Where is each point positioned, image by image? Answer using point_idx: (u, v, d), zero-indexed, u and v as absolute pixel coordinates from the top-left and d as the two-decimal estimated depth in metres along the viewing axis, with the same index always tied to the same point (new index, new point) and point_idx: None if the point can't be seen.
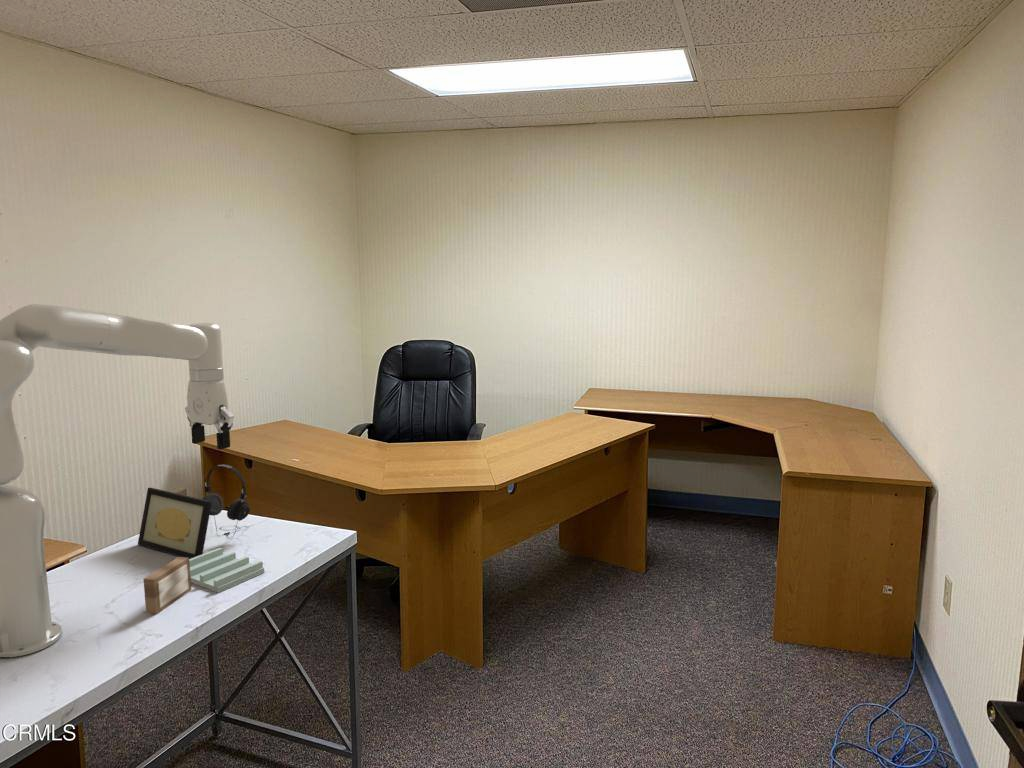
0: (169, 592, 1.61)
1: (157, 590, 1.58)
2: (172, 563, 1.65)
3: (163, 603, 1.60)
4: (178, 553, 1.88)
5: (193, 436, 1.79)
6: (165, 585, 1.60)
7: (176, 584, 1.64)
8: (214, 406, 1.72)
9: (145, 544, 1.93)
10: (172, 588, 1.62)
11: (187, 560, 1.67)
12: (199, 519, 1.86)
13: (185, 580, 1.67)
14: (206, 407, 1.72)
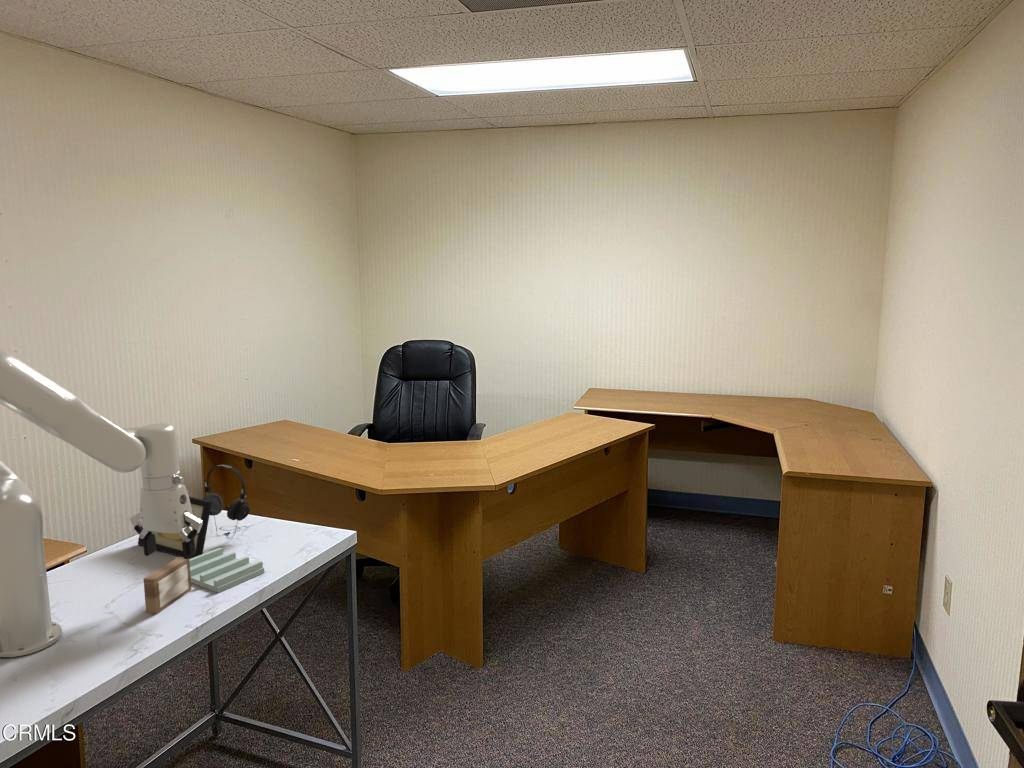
0: (169, 592, 1.61)
1: (157, 590, 1.58)
2: (172, 563, 1.65)
3: (163, 603, 1.60)
4: (178, 553, 1.88)
5: None
6: (165, 585, 1.60)
7: (176, 584, 1.64)
8: None
9: None
10: (172, 588, 1.62)
11: (187, 560, 1.67)
12: None
13: (185, 580, 1.67)
14: None
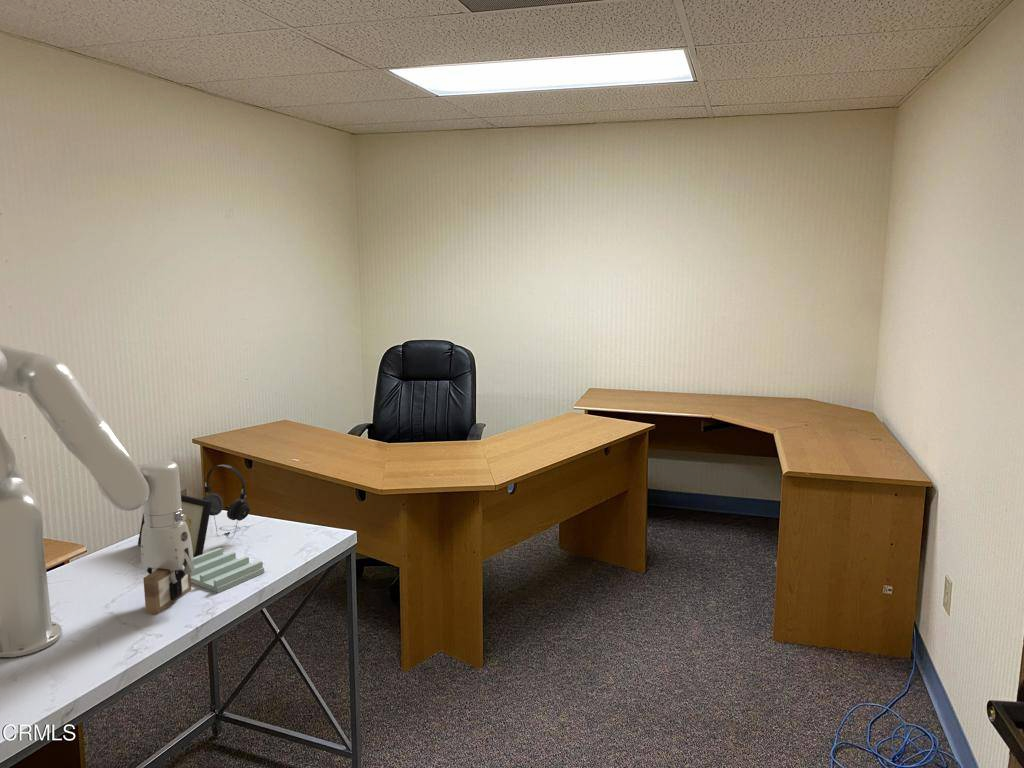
0: (169, 591, 1.61)
1: (157, 589, 1.58)
2: None
3: (163, 602, 1.60)
4: None
5: None
6: (165, 584, 1.60)
7: None
8: None
9: None
10: None
11: None
12: (199, 518, 1.86)
13: (185, 579, 1.67)
14: None
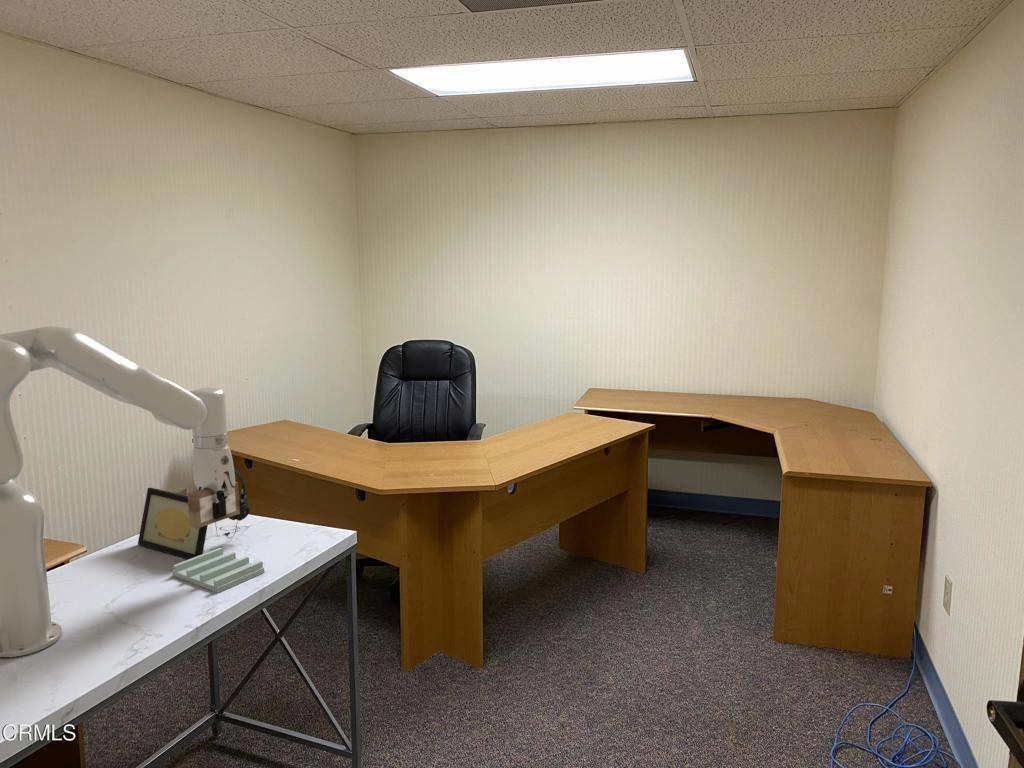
0: (212, 510, 1.73)
1: (198, 506, 1.70)
2: None
3: (204, 519, 1.71)
4: (178, 553, 1.88)
5: None
6: (207, 503, 1.72)
7: None
8: None
9: (145, 544, 1.93)
10: None
11: (235, 484, 1.78)
12: None
13: (232, 502, 1.78)
14: None
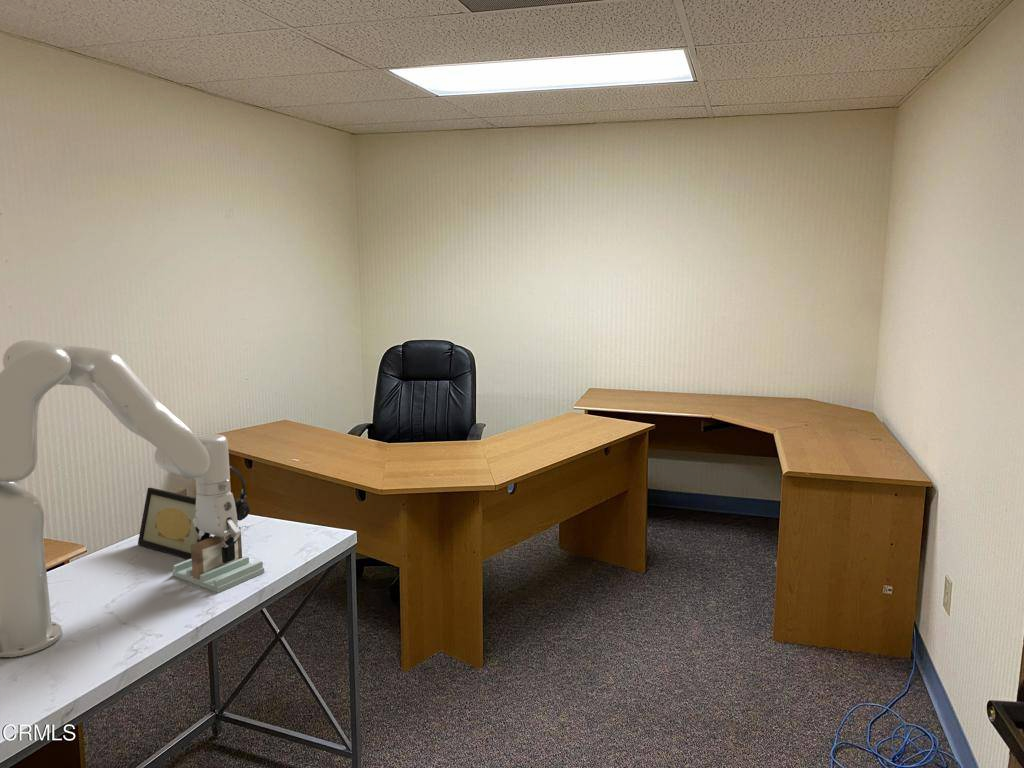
0: (215, 560, 1.75)
1: (201, 557, 1.72)
2: None
3: (207, 569, 1.74)
4: (178, 553, 1.88)
5: None
6: (210, 553, 1.74)
7: None
8: None
9: (145, 544, 1.93)
10: (218, 557, 1.76)
11: None
12: None
13: (235, 551, 1.80)
14: None
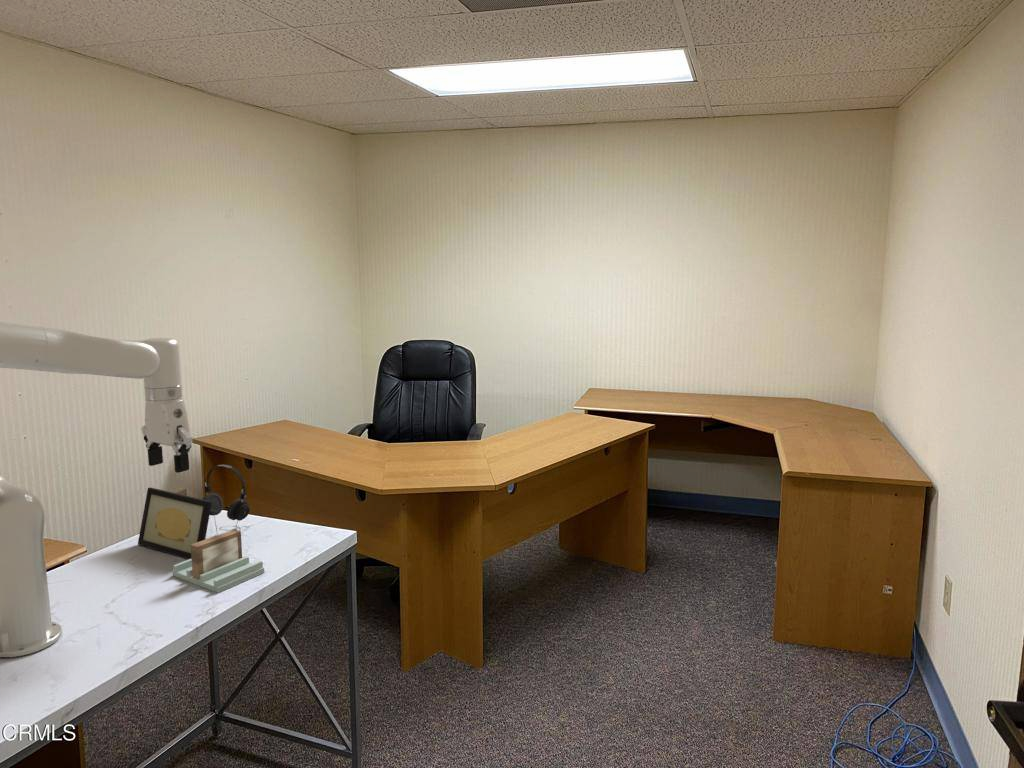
0: (215, 560, 1.75)
1: (201, 557, 1.72)
2: (223, 534, 1.79)
3: (207, 569, 1.74)
4: (178, 553, 1.88)
5: None
6: (210, 553, 1.74)
7: (223, 554, 1.77)
8: None
9: (145, 544, 1.93)
10: (218, 557, 1.76)
11: (238, 533, 1.80)
12: (199, 519, 1.86)
13: (235, 551, 1.80)
14: None
